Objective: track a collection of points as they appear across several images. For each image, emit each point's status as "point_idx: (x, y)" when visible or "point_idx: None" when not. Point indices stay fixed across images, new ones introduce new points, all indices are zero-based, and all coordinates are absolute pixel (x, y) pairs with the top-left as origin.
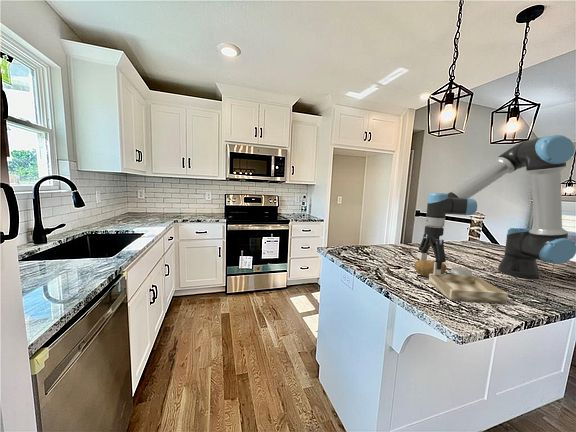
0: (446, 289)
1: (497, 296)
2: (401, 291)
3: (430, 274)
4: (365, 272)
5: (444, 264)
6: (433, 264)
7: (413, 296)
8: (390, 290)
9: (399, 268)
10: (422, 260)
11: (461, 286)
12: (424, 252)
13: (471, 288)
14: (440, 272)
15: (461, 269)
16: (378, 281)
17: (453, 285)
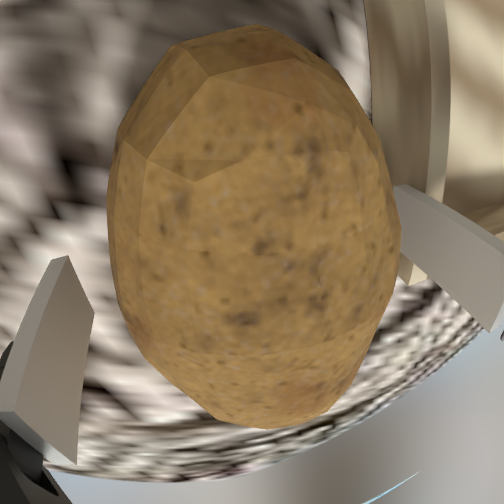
0: None
1: None
2: (437, 350)
3: (421, 279)
4: (261, 459)
5: (328, 81)
6: (391, 292)
7: (470, 317)
8: (424, 375)
9: (106, 388)
10: (312, 410)
11: (457, 63)
12: (19, 449)
13: (469, 21)
14: (434, 202)
15: None
16: (354, 417)
17: (450, 111)
